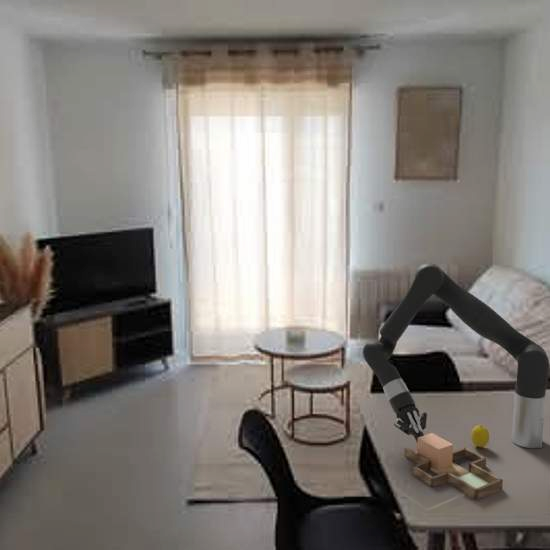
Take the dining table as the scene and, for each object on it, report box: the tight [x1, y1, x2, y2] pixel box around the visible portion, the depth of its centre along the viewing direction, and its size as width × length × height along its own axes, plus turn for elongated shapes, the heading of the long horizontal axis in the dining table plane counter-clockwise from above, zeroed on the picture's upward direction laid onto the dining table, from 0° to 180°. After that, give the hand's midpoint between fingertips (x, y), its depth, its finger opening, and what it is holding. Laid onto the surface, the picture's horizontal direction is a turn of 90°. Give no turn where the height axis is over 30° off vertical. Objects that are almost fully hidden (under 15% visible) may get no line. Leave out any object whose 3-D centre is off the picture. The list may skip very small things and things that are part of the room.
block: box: [416, 432, 454, 470], centre depth 185 cm, size 9×6×7 cm, turn 30°
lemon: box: [470, 424, 490, 448], centre depth 194 cm, size 6×6×8 cm
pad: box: [459, 473, 489, 488], centre depth 172 cm, size 10×9×1 cm
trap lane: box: [404, 447, 504, 501], centre depth 180 cm, size 29×22×3 cm
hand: (423, 444), depth 189 cm, fingers closed
